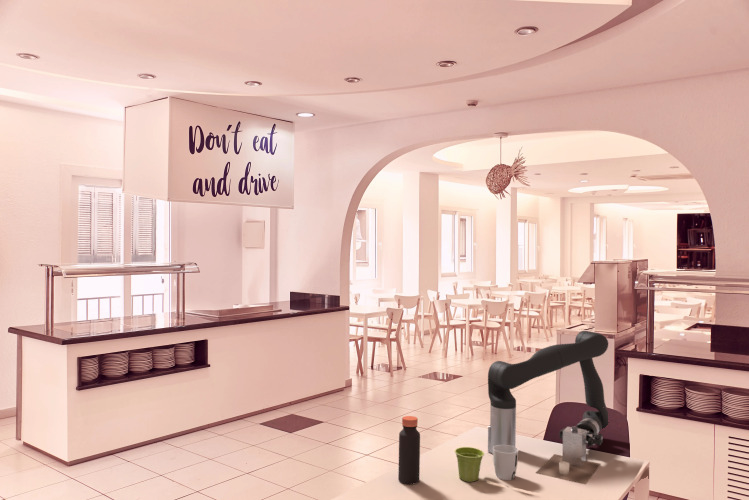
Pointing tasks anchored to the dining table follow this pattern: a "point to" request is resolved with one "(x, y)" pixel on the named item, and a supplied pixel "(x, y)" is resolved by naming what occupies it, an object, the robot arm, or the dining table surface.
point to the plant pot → (469, 463)
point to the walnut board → (575, 472)
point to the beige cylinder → (563, 468)
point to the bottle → (409, 451)
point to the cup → (505, 461)
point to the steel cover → (574, 446)
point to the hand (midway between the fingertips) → (576, 441)
